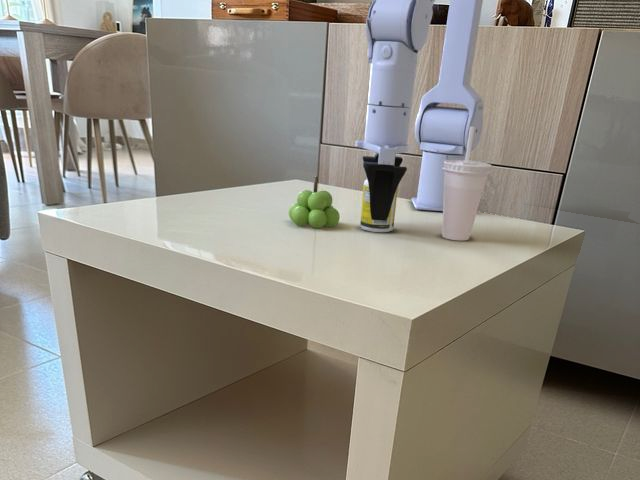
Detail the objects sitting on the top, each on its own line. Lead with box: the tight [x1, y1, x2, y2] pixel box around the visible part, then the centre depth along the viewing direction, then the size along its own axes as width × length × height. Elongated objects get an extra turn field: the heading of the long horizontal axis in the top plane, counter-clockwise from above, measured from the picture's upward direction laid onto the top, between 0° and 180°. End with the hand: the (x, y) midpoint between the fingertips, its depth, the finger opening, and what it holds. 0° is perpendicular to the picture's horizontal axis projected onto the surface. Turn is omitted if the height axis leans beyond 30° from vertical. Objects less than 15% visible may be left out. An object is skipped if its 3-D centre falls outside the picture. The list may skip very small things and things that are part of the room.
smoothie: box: [441, 127, 493, 242], centre depth 84 cm, size 6×6×14 cm
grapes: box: [288, 175, 341, 229], centre depth 87 cm, size 7×7×6 cm
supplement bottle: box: [359, 178, 399, 233], centre depth 87 cm, size 5×5×8 cm
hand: (378, 214), depth 88 cm, fingers open, 7 cm apart
